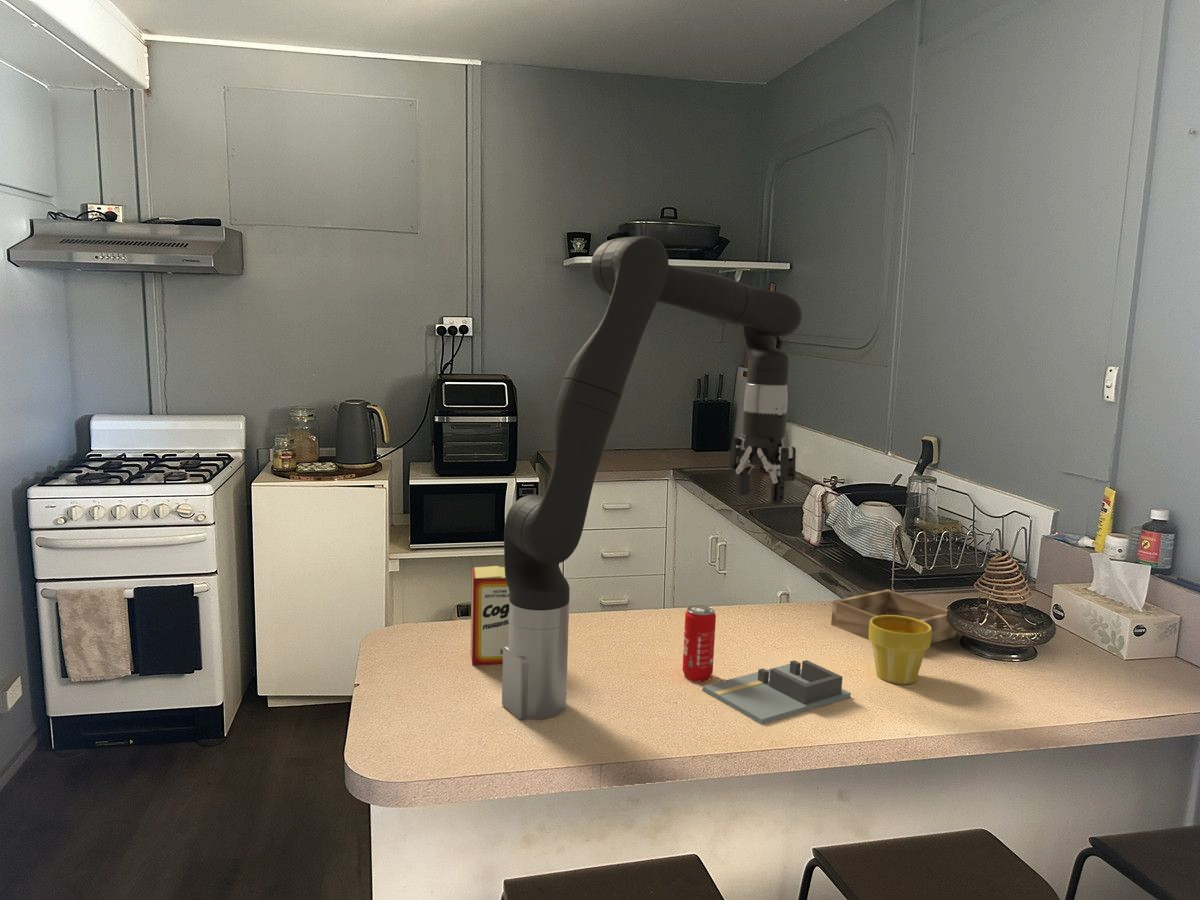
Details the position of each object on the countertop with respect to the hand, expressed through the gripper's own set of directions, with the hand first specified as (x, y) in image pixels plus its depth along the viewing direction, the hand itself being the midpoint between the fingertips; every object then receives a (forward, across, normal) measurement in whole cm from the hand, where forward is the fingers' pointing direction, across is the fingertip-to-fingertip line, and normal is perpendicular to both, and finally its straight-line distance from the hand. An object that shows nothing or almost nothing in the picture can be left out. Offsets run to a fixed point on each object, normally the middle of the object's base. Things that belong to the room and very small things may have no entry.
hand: (759, 499), depth 161 cm
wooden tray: (+29, +4, +35) cm, 46 cm away
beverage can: (+30, +3, -15) cm, 33 cm away
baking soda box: (+30, -21, -41) cm, 55 cm away
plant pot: (+30, +20, +16) cm, 39 cm away
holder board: (+29, +15, -8) cm, 34 cm away
